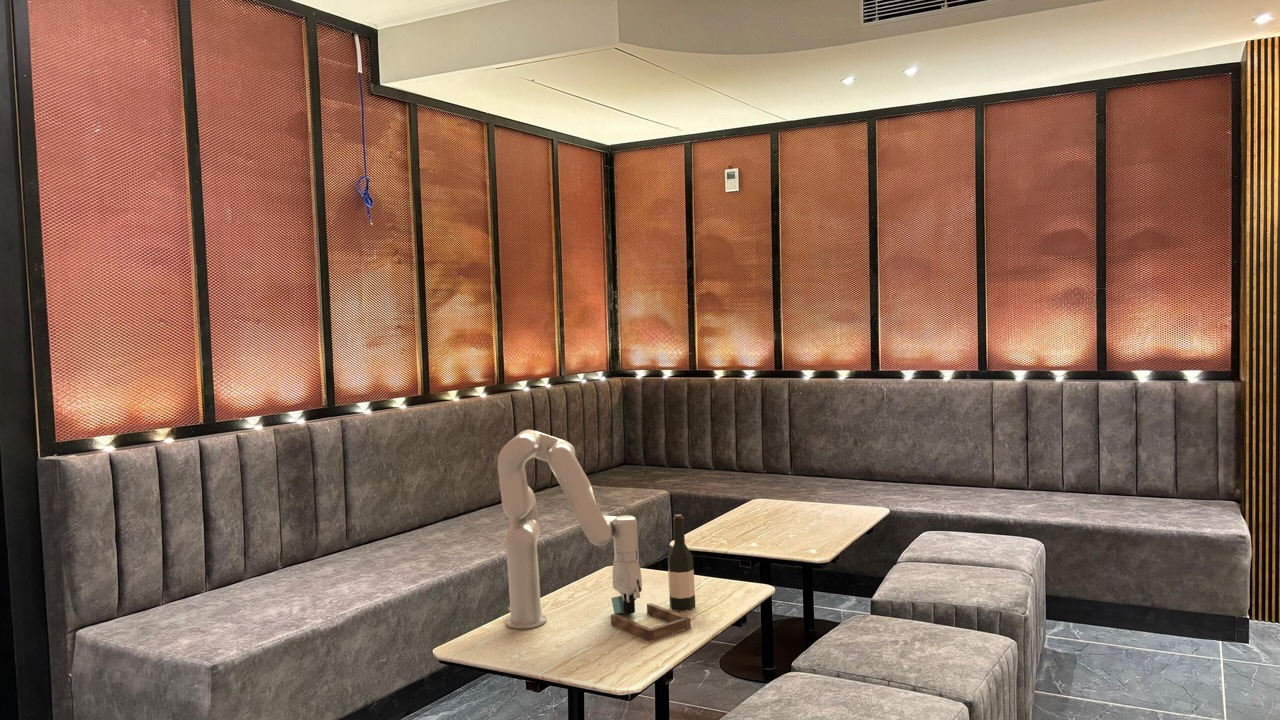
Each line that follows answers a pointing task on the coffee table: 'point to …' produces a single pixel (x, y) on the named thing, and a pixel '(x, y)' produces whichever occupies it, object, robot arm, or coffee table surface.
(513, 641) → the coffee table surface
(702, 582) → the coffee table surface
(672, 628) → the frame
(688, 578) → the wine bottle
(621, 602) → the teal block
